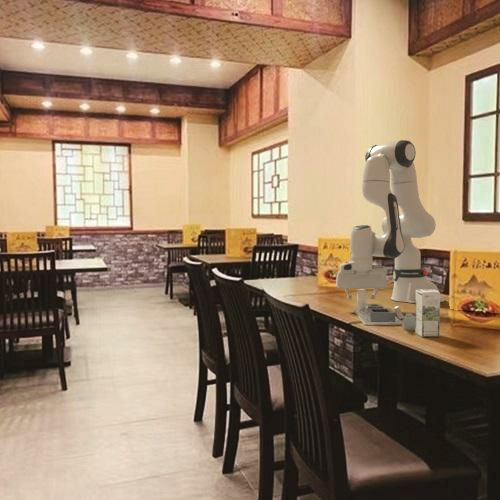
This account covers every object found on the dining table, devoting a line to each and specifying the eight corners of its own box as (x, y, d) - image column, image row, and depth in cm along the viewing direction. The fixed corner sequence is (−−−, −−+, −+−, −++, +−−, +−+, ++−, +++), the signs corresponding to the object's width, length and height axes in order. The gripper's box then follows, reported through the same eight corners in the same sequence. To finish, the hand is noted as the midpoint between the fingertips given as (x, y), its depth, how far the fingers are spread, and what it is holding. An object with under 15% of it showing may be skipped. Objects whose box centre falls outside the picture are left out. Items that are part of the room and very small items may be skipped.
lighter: (414, 328, 165) (414, 305, 165) (416, 329, 164) (416, 306, 163) (393, 329, 165) (393, 305, 164) (395, 330, 163) (395, 306, 163)
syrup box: (432, 332, 159) (432, 288, 158) (440, 337, 153) (440, 291, 152) (414, 333, 159) (415, 288, 158) (421, 337, 153) (422, 291, 152)
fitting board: (388, 312, 193) (388, 302, 193) (402, 324, 171) (402, 313, 171) (354, 312, 194) (354, 302, 194) (364, 325, 172) (364, 313, 172)
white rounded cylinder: (366, 308, 202) (366, 289, 202) (367, 310, 198) (367, 290, 198) (356, 308, 203) (356, 289, 202) (357, 310, 199) (357, 290, 198)
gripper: (385, 264, 202) (385, 297, 203) (335, 264, 203) (335, 297, 204) (389, 266, 196) (388, 300, 196) (337, 266, 197) (337, 300, 198)
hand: (361, 299), depth 200 cm, fingers open, 8 cm apart
